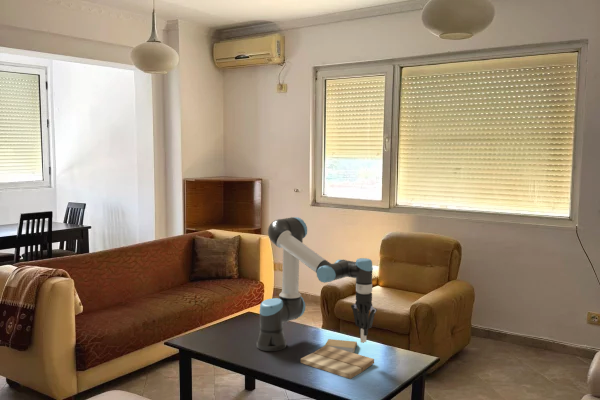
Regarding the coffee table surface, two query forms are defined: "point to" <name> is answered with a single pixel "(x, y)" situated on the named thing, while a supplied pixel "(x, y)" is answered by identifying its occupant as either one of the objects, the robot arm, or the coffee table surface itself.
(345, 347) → the crown molding
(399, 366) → the coffee table surface
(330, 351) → the board
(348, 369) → the laid board
